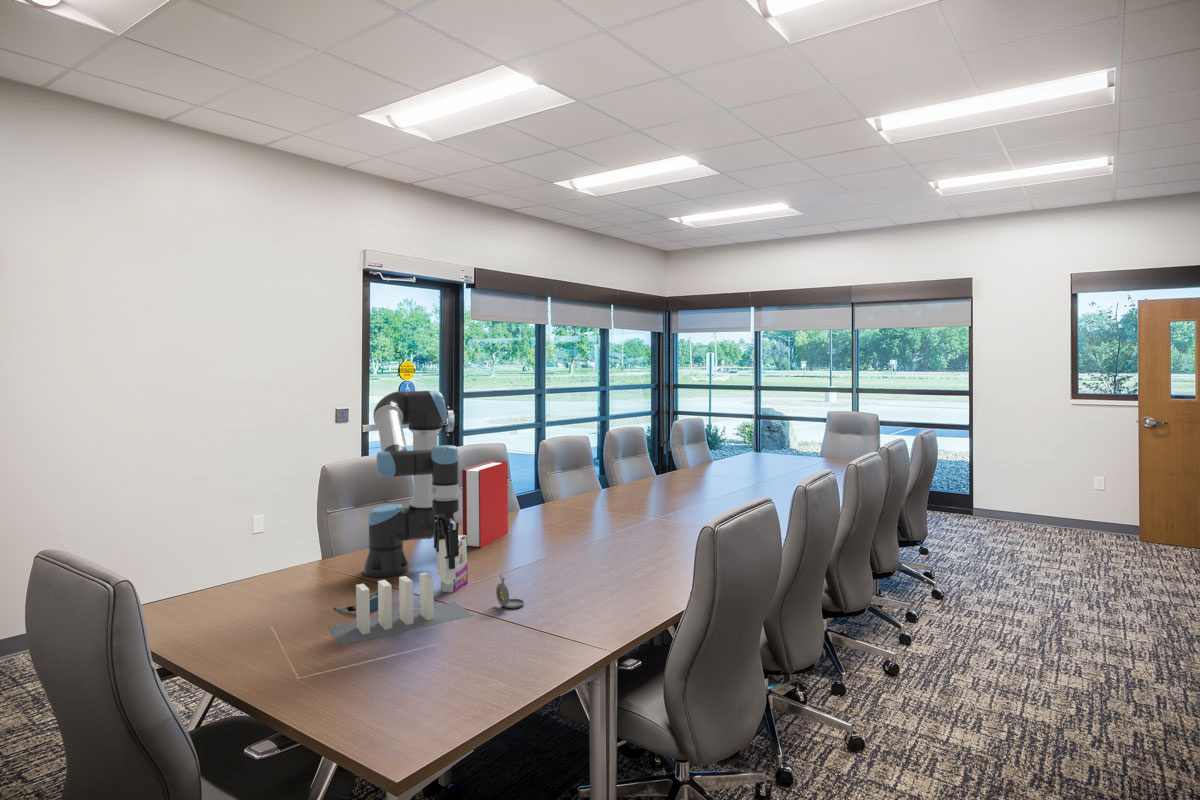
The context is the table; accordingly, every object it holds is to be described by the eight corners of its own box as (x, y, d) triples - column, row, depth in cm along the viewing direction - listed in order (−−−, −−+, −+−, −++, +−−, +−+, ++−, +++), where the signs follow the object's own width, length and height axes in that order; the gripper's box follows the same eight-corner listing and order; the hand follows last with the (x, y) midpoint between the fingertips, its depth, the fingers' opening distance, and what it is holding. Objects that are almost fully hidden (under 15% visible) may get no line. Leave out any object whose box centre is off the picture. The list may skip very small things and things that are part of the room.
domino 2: (378, 622, 187) (377, 580, 187) (385, 621, 188) (385, 579, 188) (384, 629, 182) (384, 586, 182) (392, 628, 183) (391, 585, 183)
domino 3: (399, 618, 191) (399, 577, 190) (406, 616, 192) (405, 576, 191) (406, 624, 186) (405, 582, 185) (413, 623, 187) (412, 581, 186)
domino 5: (439, 579, 197) (438, 539, 196) (445, 578, 198) (445, 538, 198) (446, 584, 192) (446, 543, 191) (453, 583, 193) (453, 542, 193)
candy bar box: (454, 582, 225) (453, 534, 224) (468, 583, 224) (467, 534, 223) (439, 592, 214) (439, 542, 213) (454, 593, 213) (453, 543, 212)
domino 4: (419, 614, 194) (419, 573, 193) (426, 612, 195) (426, 572, 195) (427, 620, 189) (426, 578, 189) (434, 618, 190) (433, 577, 190)
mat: (328, 629, 183) (328, 628, 183) (455, 603, 204) (455, 601, 204) (341, 646, 172) (341, 645, 172) (473, 616, 193) (473, 615, 193)
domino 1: (356, 627, 184) (355, 584, 183) (364, 626, 185) (363, 583, 184) (362, 634, 179) (361, 590, 178) (370, 632, 180) (369, 589, 179)
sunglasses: (370, 617, 193) (368, 600, 193) (329, 618, 198) (327, 601, 198) (400, 602, 206) (398, 586, 206) (361, 602, 211) (359, 587, 211)
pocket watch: (527, 603, 204) (527, 571, 204) (515, 612, 196) (515, 579, 196) (503, 600, 207) (503, 568, 207) (490, 609, 199) (490, 576, 199)
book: (480, 548, 268) (479, 469, 267) (462, 547, 270) (462, 469, 269) (509, 532, 294) (508, 461, 293) (492, 531, 296) (492, 460, 295)
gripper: (421, 495, 200) (422, 571, 201) (445, 505, 184) (446, 587, 185) (445, 492, 204) (446, 566, 205) (470, 502, 188) (471, 582, 189)
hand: (446, 576), depth 195 cm, fingers closed on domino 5, 6 cm apart
